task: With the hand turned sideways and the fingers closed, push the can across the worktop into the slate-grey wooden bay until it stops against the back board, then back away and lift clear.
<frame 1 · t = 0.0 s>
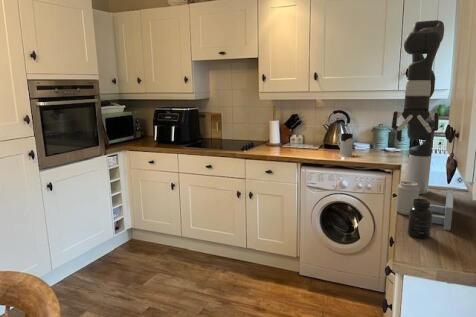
hand: (413, 142, 126), 29 cm above the worktop, tool pointing down, fingers open, 8 cm apart
can: (406, 213, 143), on the worktop
glass holder: (343, 155, 257), on the worktop
stop bay: (438, 217, 138), on the worktop
supplement bottle: (418, 235, 122), on the worktop
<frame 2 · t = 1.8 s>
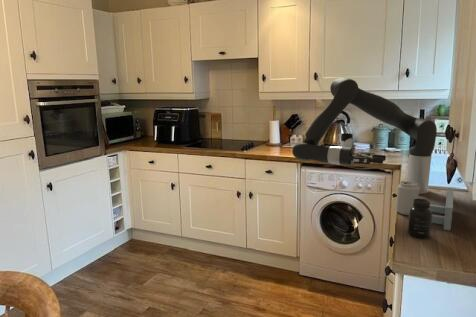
hand: (384, 159, 144), 20 cm above the worktop, tool horizontal, fingers open, 5 cm apart
nothing on the worktop moved.
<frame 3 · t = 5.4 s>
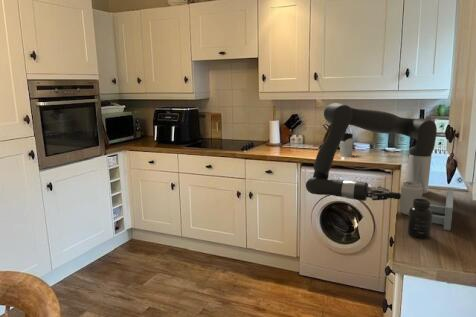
hand: (400, 196, 143), 6 cm above the worktop, tool horizontal, fingers closed
can: (409, 213, 143), on the worktop, touching gripper
everything else where it was.
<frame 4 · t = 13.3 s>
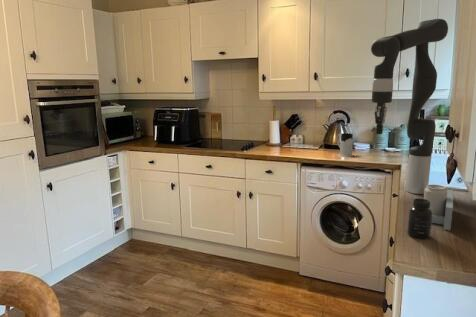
hand: (379, 133, 150), 29 cm above the worktop, tool pointing down, fingers closed
can: (433, 217, 138), on the worktop
everything else where it was.
at the end: can inside the target area (0.4 cm from its centre), on the worktop; can tilted 0° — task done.
